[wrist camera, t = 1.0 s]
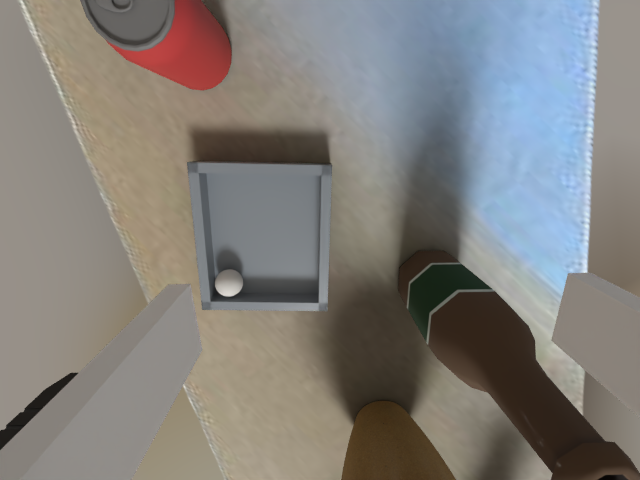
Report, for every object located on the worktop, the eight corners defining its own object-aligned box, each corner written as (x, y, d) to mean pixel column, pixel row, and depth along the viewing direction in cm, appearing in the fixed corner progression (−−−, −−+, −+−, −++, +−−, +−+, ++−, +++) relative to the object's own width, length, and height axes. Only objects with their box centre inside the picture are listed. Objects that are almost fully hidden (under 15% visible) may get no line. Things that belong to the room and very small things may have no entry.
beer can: (158, 15, 29) (53, -70, 17) (228, 12, 29) (170, -76, 17) (171, 93, 31) (85, 62, 19) (237, 89, 31) (190, 57, 19)
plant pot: (418, 363, 41) (480, 495, 25) (442, 444, 45) (508, 599, 30) (312, 394, 42) (310, 538, 27) (345, 470, 46) (359, 631, 31)
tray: (198, 160, 33) (187, 162, 30) (330, 163, 33) (332, 165, 30) (210, 297, 37) (202, 309, 34) (326, 298, 38) (327, 311, 35)
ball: (218, 265, 35) (210, 275, 32) (245, 265, 35) (238, 276, 32) (220, 288, 36) (212, 301, 33) (246, 289, 36) (240, 301, 33)
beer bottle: (385, 261, 36) (506, 461, 13) (449, 236, 35) (693, 403, 13) (406, 314, 38) (540, 566, 16) (466, 292, 38) (703, 522, 15)
